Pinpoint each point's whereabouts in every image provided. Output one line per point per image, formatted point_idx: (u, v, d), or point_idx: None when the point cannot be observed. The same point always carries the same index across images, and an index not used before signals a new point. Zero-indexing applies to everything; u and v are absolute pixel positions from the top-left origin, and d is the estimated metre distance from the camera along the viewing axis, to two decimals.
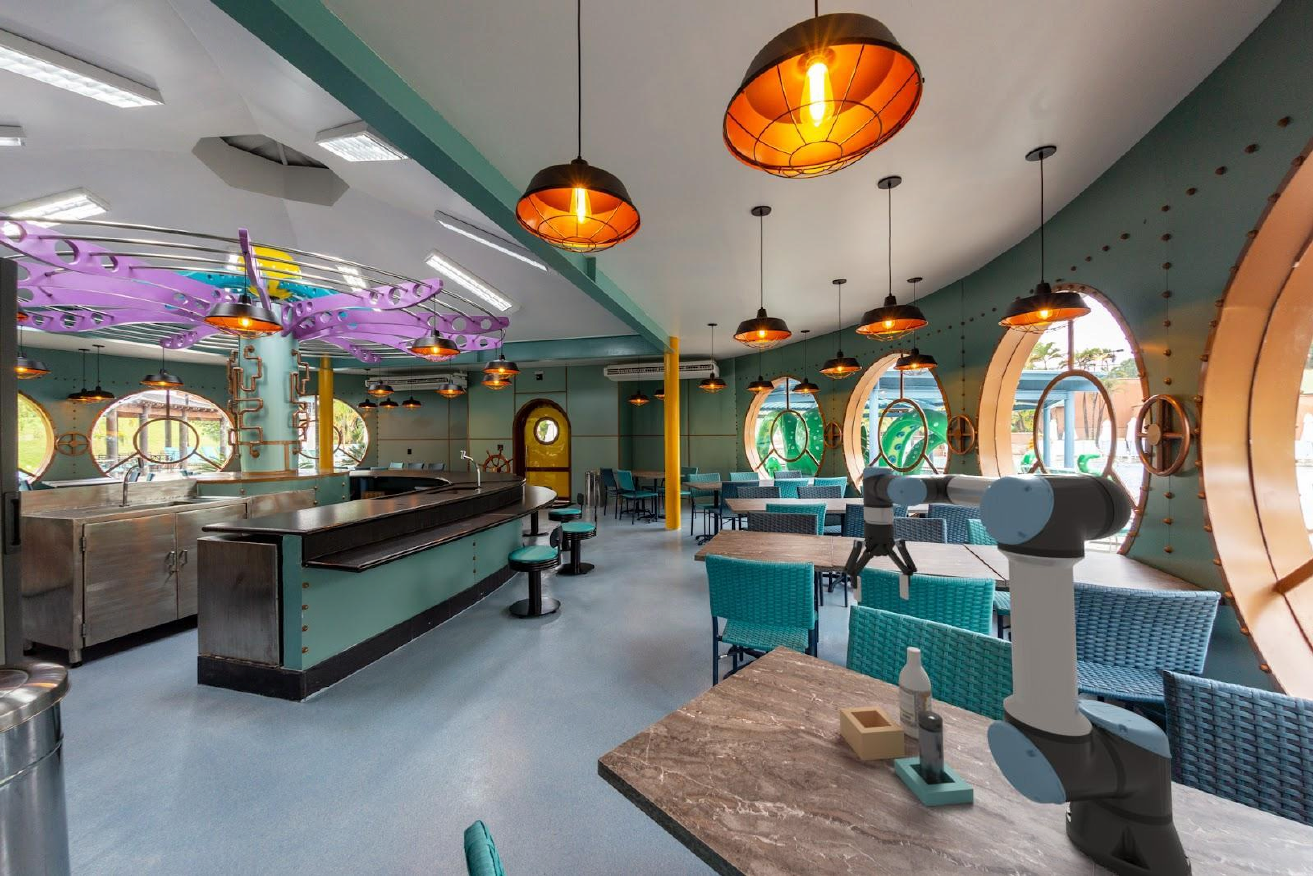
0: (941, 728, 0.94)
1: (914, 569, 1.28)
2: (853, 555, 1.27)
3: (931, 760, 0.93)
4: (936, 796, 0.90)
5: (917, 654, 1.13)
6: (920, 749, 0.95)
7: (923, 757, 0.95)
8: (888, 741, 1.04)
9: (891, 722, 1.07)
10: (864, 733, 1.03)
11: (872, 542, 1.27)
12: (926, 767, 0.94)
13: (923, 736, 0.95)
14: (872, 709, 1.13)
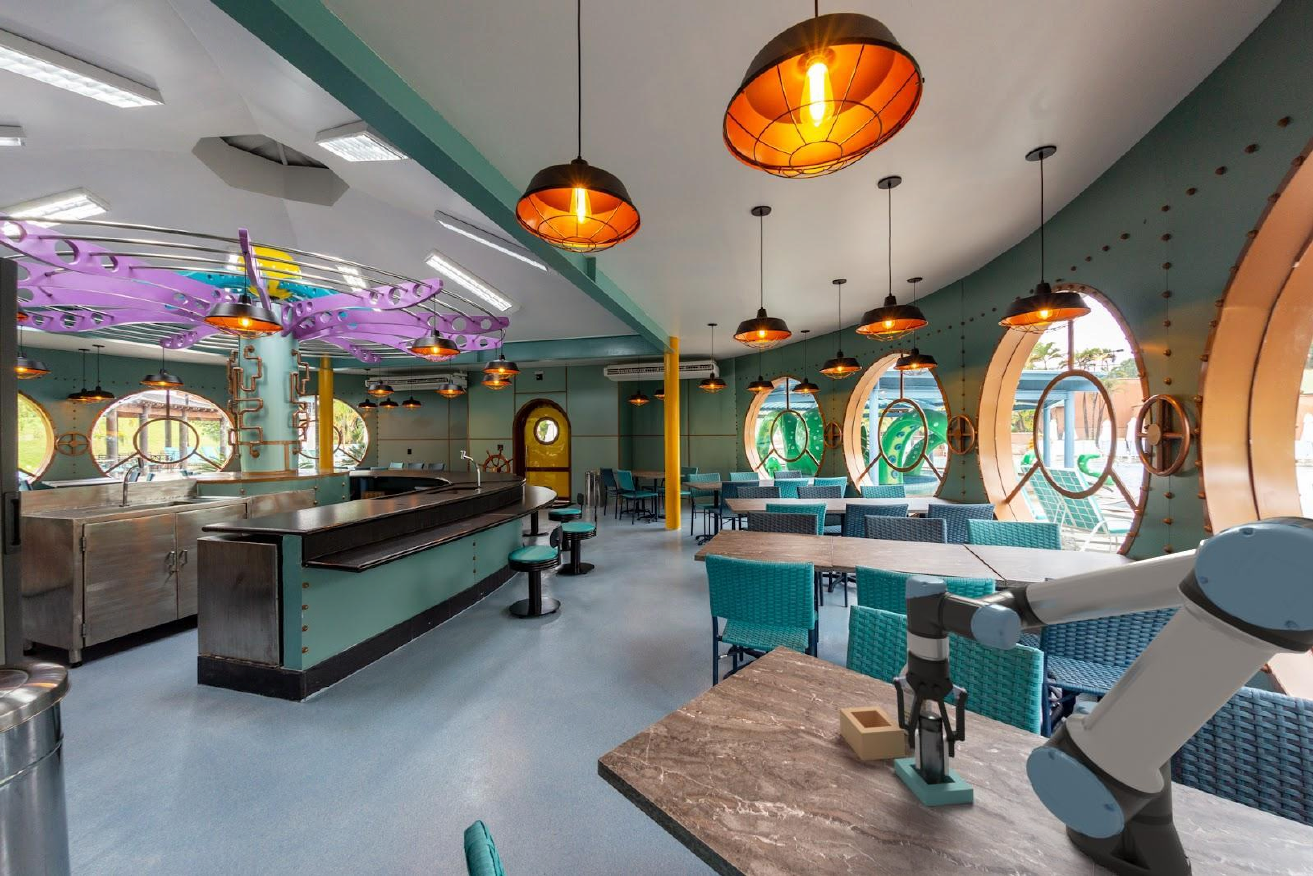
0: (941, 728, 0.94)
1: (960, 736, 0.92)
2: (897, 700, 0.98)
3: (931, 760, 0.93)
4: (936, 796, 0.90)
5: None
6: (920, 749, 0.95)
7: (923, 757, 0.95)
8: (888, 741, 1.04)
9: (891, 722, 1.07)
10: (864, 733, 1.03)
11: (913, 678, 0.96)
12: (926, 766, 0.94)
13: (923, 736, 0.95)
14: (872, 709, 1.13)
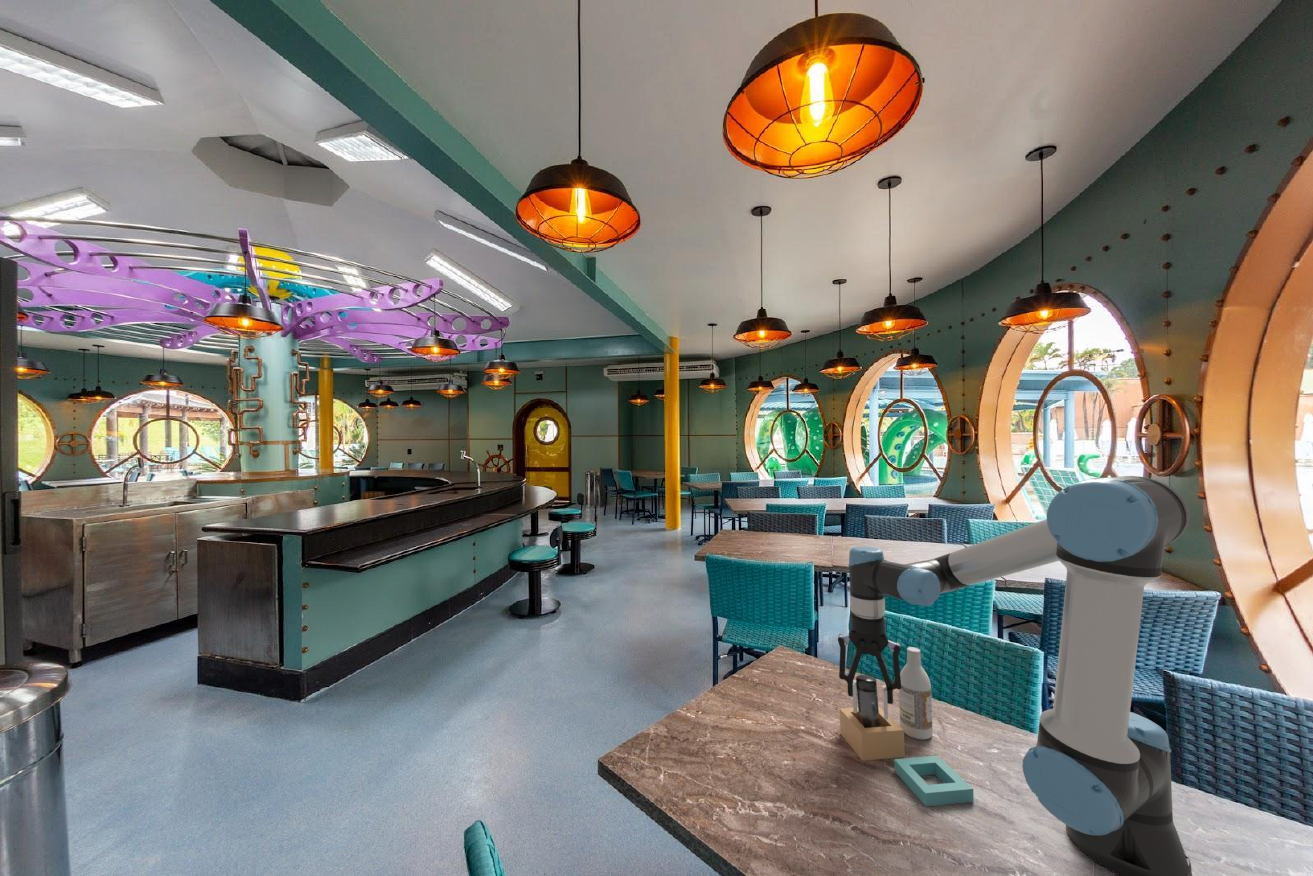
0: (875, 688, 1.08)
1: (897, 685, 1.06)
2: (840, 655, 1.11)
3: (867, 717, 1.07)
4: (936, 796, 0.90)
5: (917, 654, 1.13)
6: (859, 708, 1.09)
7: (861, 715, 1.08)
8: (888, 741, 1.04)
9: (891, 722, 1.07)
10: (864, 733, 1.03)
11: (855, 635, 1.10)
12: (864, 723, 1.08)
13: (860, 696, 1.08)
14: None
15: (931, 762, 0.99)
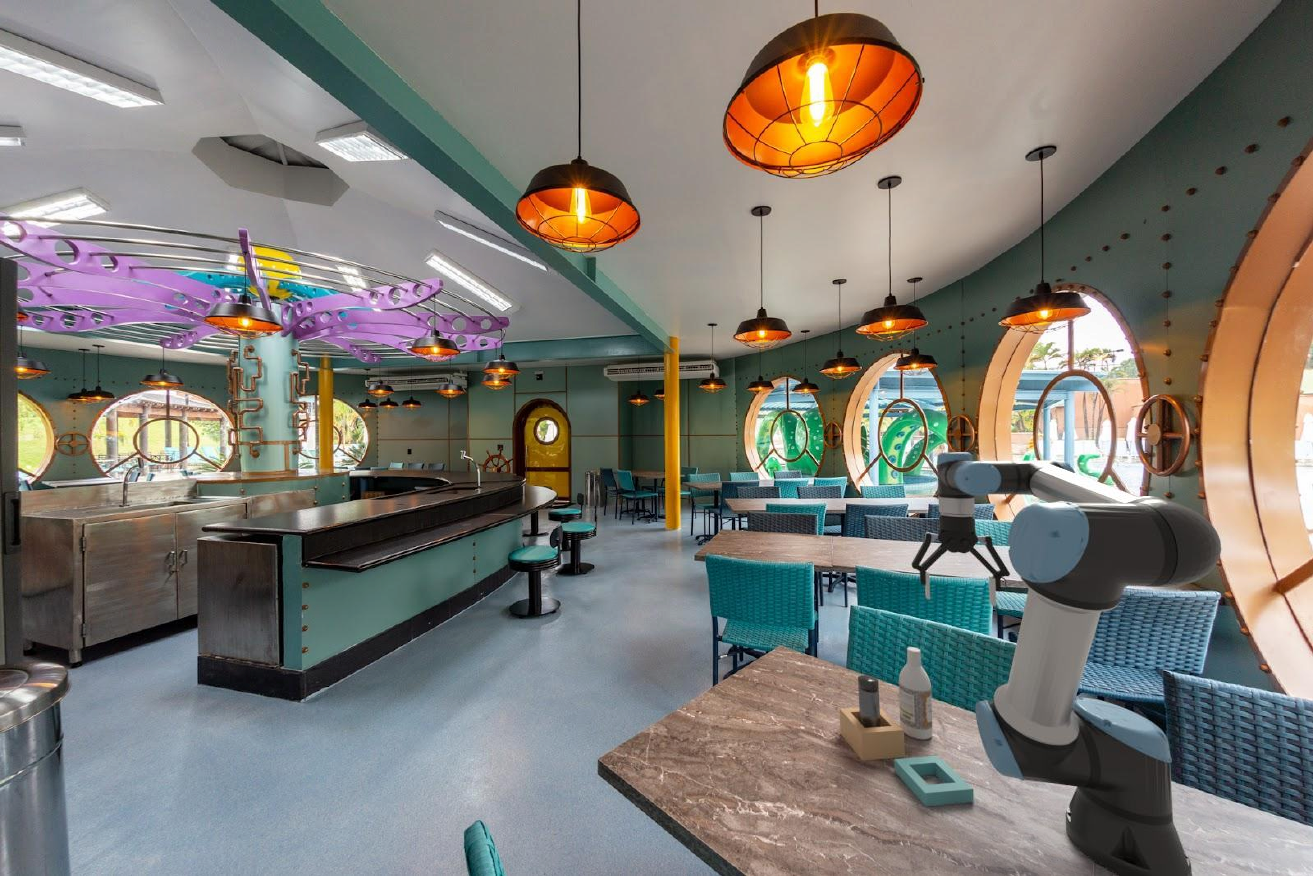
0: (877, 688, 1.08)
1: (1005, 572, 1.09)
2: (921, 548, 1.17)
3: (868, 717, 1.07)
4: (936, 796, 0.90)
5: (917, 654, 1.13)
6: (860, 708, 1.09)
7: (862, 715, 1.08)
8: (888, 741, 1.04)
9: (891, 722, 1.07)
10: (864, 733, 1.03)
11: (945, 536, 1.15)
12: (865, 723, 1.08)
13: (862, 696, 1.08)
14: None
15: (931, 762, 0.99)
